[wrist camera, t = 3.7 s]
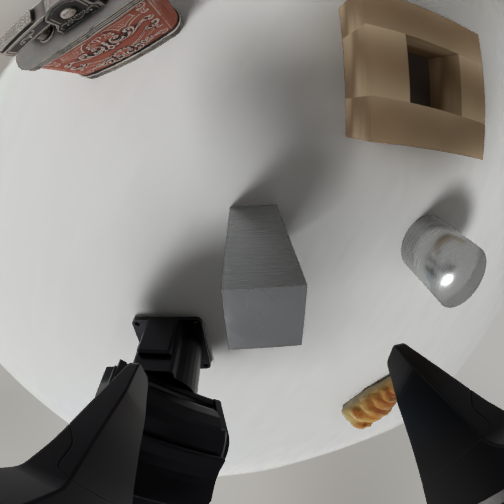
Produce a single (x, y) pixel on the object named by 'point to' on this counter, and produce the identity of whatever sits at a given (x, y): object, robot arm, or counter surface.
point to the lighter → (89, 34)
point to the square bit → (261, 281)
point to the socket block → (412, 78)
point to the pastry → (370, 404)
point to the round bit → (443, 260)
